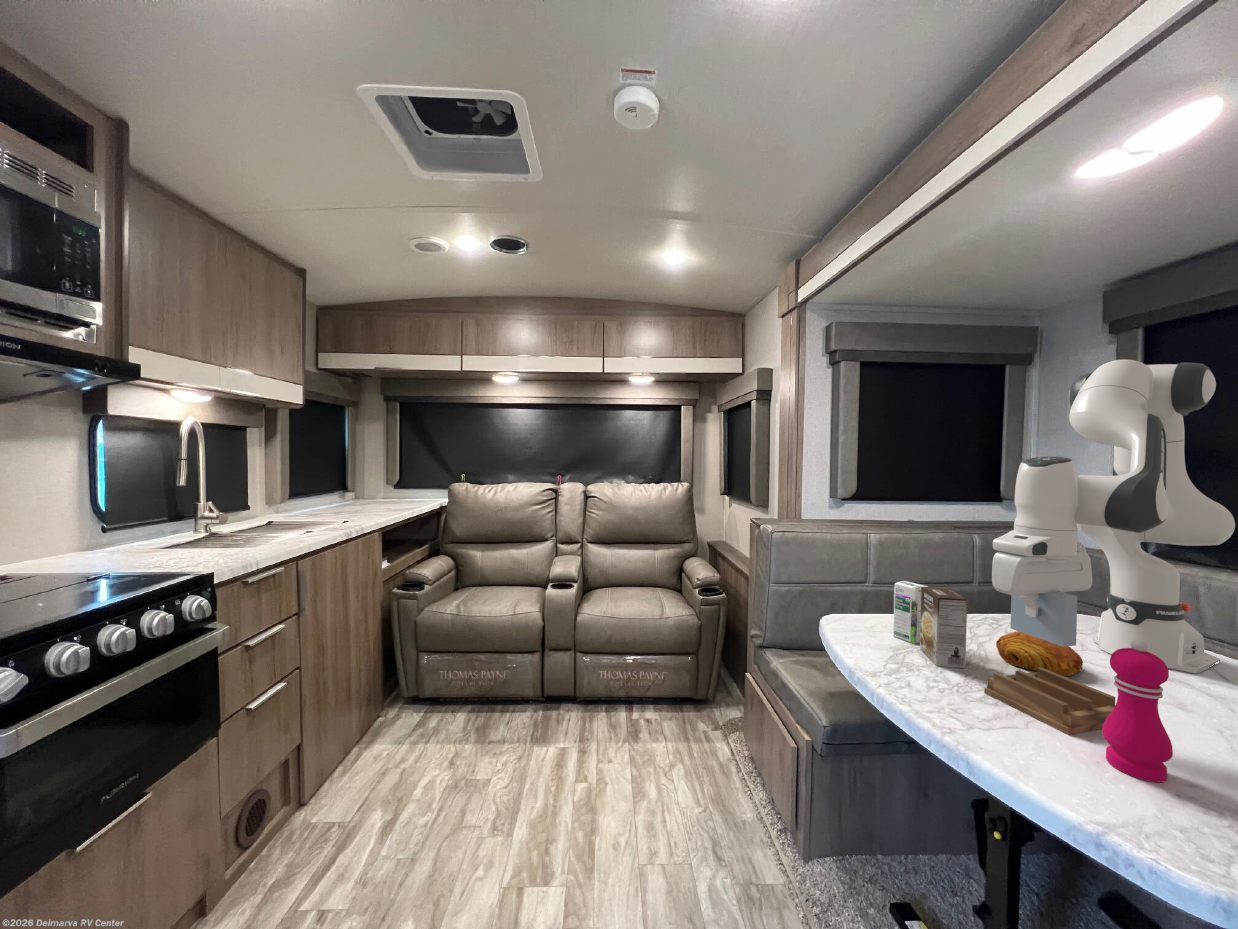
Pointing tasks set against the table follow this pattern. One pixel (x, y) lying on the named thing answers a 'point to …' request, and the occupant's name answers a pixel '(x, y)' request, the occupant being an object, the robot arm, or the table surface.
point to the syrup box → (907, 611)
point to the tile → (1048, 618)
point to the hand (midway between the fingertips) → (1042, 615)
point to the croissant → (1038, 654)
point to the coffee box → (943, 626)
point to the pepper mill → (1138, 715)
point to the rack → (1053, 699)
